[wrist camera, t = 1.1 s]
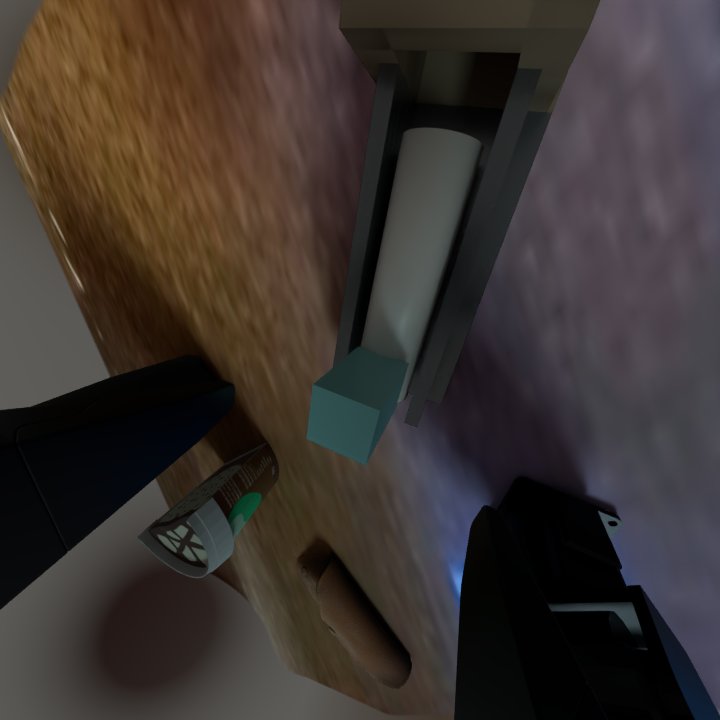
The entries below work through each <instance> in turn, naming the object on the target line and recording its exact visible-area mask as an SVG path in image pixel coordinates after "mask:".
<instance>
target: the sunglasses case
mask: <svg viewBox="0 0 720 720" xmlns="http://www.w3.org/2000/svg"><path fill="white" fill-rule="evenodd" d="M294 559H295V561H296V565H297V568H298V571H299V573H300V575H301V577H302V579H303V581H304V583H305V584H306V586H307V588H308V590H309V591H310V593H311V595H312V596H313V598H314V599H315V601H316V603H317V604H318V606H319V611H320V615H321V618H322V619H323V621H325V623H326V624H327V625H328V626H329V630H330V631H331V633H332V634H334V635H335V636H336V638H337V639H338V641H339V642H340V643H341V644H342V645H343V646H344V648H345V649H346V650H347V651H348V653H349V654H350V655H351V657H352V658H353V659H354V660H355V661H356V662H357V663H358V664H359V665H360V666H361V667H362V668H363V669H364V670H365V671H366V672H367V673H368V674H370V675H371V676H372V677H373V678H375V679H376V680H377V681H379V682H380V683H382V684H383V685H385V686H387V687H389V688H391V689H399V688H401V687H402V686H403V685H404V684H405V683H406V681H407V680H408V678H409V676H410V673H411V669H412V663H411V659H410V658H409V657H408V656H407V655H406V654H405V653H404V651H403V650H402V649H401V648H400V647H399V646H398V645H397V643H396V642H395V641H394V640H392V638H391V636H390V635H389V634H388V633H387V632H386V631H385V630H384V629H383V628H382V626H381V624H380V623H379V622H378V620H377V619H376V617H375V616H374V614H373V613H372V612H371V610H370V609H369V608H368V607H367V605H366V604H365V603H364V602H363V600H362V598H361V597H360V595H359V594H358V592H357V591H356V590H355V588H354V587H353V586H352V584H351V583H350V582H349V580H348V579H347V577H346V576H345V574H344V573H343V572H342V570H341V569H340V568H339V566H338V564H337V563H336V561H335V560H334V559H333V558H332V554H331V551H330V552H326V553H320V554H314V555H307V556H302V557H299V558H294Z"/></svg>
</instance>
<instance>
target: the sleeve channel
mask: <svg viewBox="0 0 720 720" xmlns="http://www.w3.org/2000/svg"><path fill="white" fill-rule="evenodd" d="M541 72H542V69H529V68H518V69H517V72H516V75H515V78H514V81H513V84H512V87H511V91H510V94H509V97H508V100H507V103H506V106H505V109H497V108H483V107H470V106H457V105H443V104H430V103H417V102H416V100H415V98H414V96H413V94H412V91H411V89H410V87H409V85H408V83H407V80H406V78H405V76H404V74H403V72H402V70H401V67H400V65H399V64H395V63H380V65H379V72H378V78H377V85H376V91H375V98H374V104H373V111H372V117H371V124H370V130H369V137H368V143H367V150H366V156H365V162H364V169H363V175H362V182H361V188H360V195H359V201H358V208H357V214H356V221H355V227H354V234H353V240H352V247H351V253H350V260H349V266H348V273H347V279H346V286H345V292H344V298H343V305H342V311H341V318H340V324H339V331H338V337H337V344H336V350H335V357H334V363H333V367H334V366H336V365H337V364H338V363H339V362H340V361H342V360H343V359H344V358H345V357H346V356H348V355H349V354H350V353H351V352H352V351H354V350H355V349H356V348H357V347H358V346H359V347H361V342H362V337H363V332H364V327H365V322H366V317H367V312H368V307H369V302H370V297H371V292H372V287H373V282H374V277H375V272H376V267H377V262H378V257H379V252H380V247H381V241H382V236H383V231H384V226H385V221H386V216H387V211H388V206H389V201H390V196H391V191H392V186H393V181H394V176H395V171H396V166H397V161H398V156H399V151H400V146H401V141H402V136H403V133H404V132H405V131H407V130H410V129H414V128H439V129H446V130H451V131H456V132H460V133H463V134H466V135H469V136H471V137H473V138H475V139H477V140H479V141H480V142H481V143H482V144H483V145H484V150H483V153H482V156H481V159H480V163H479V166H478V169H477V172H476V175H475V179H474V182H473V185H472V188H471V192H470V195H469V198H468V201H467V205H466V208H465V211H464V214H463V217H462V221H461V224H460V227H459V230H458V234H457V237H456V240H455V243H454V247H453V250H452V253H451V256H450V259H449V263H448V266H447V269H446V272H445V276H444V279H443V282H442V285H441V289H440V292H439V295H438V298H437V301H436V305H435V308H434V311H433V314H432V318H431V321H430V324H429V327H428V331H427V334H426V337H425V340H424V343H423V347H422V350H421V353H420V356H419V360H418V363H417V366H416V369H415V373H414V376H413V379H412V382H411V385H410V389H409V392H408V393H410V394H413V397H412V400H411V403H410V406H409V409H408V412H407V415H406V418H405V422H404V423H407V424H409V425H412V426H414V427H417V426H418V423H419V420H420V417H421V414H422V412H423V409H424V406H425V403H426V400H429V401H432V402H435V403H438V404H440V405H441V402H442V400H443V397H444V394H445V392H446V389H447V387H448V384H449V381H450V379H451V376H452V374H453V371H454V368H455V366H456V363H457V360H458V358H459V355H460V353H461V350H462V347H463V345H464V342H465V339H466V337H467V334H468V332H469V329H470V326H471V324H472V321H473V318H474V316H475V313H476V311H477V308H478V305H479V303H480V300H481V298H482V295H483V292H484V290H485V287H486V284H487V282H488V279H489V277H490V274H491V271H492V269H493V266H494V263H495V261H496V258H497V256H498V253H499V250H500V248H501V245H502V243H503V240H504V237H505V235H506V232H507V229H508V227H509V224H510V222H511V219H512V216H513V214H514V211H515V208H516V206H517V203H518V201H519V198H520V195H521V193H522V190H523V188H524V185H525V182H526V180H527V177H528V174H529V172H530V169H531V167H532V164H533V161H534V159H535V156H536V153H537V151H538V148H539V146H540V143H541V140H542V138H543V135H544V133H545V130H546V127H547V125H548V122H549V119H550V117H551V114H552V113H550V112H536V111H528V109H529V106H530V103H531V100H532V97H533V95H534V92H535V89H536V86H537V83H538V80H539V77H540V75H541Z"/></svg>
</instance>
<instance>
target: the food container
mask: <svg viewBox="0 0 720 720" xmlns="http://www.w3.org/2000/svg"><path fill="white" fill-rule="evenodd" d="M278 476H279V465H278V461H277V458H276V456H275V454H274V452H273V450H272V448H271V447H270V445H269V444H268V442H267V443H265V444H263V445H261V446H259V447H257V448H255V449H253V450H251V451H249V452H247V453H245V454H243V455H241V456H239V457H237V458H235V459H233V460H231V461H229V462H227V463H225V464H224V465H223V466H222V467H220V468H219V469H218V470H217V471H216V472H214V473H213V474H212V475H211V476H210V477H208V478H207V479H206V480H205V481H204V482H202V483H201V484H200V485H199V486H198V487H196V488H195V489H194V490H193V491H192V492H190V493H189V494H188V495H187V496H186V497H185V498H183V499H182V500H181V501H180V502H179V503H177V504H176V505H175V506H174V507H173V508H171V509H170V510H169V511H168V512H167V513H165V514H164V515H163V516H162V517H161V518H159V520H156V521H155V522H154V523H152V524H151V525H150V526H149V527H148V528H147V529H146V530H145V531H144V532H143V533H142V534H140V535H139V536H138V538H139V540H140V541H141V542H142V543H143V544H144V545H145V546H146V547H147V548H148V549H149V550H150V551H151V552H152V553H153V554H154V555H155V556H156V557H158V558H159V559H160V560H161V561H163V562H164V563H165V564H167V565H168V566H169V567H171V568H172V569H174V570H176V571H178V572H179V573H181V574H184V575H186V576H189V577H193V578H201V577H204V576H205V575H207V574H208V573H209V572H212V571H214V570H215V569H216V568H217V567H218V566H220V565H221V564H222V563H223V562H224V561H225V560H226V559H228V558H229V557H230V556H231V554H232V552H233V549H234V538H235V537H236V536H237V534H238V533H239V532H240V530H241V529H242V528H243V526H244V525H245V524H246V522H247V521H248V519H249V518H250V517H251V515H252V514H253V513H254V511H255V510H256V509H257V507H258V506H259V505H260V503H261V502H262V501H263V499H264V498H265V496H266V495H267V494H268V492H269V491H270V490H271V488H272V487H273V486H274V484H275V483H276V481H277V480H278Z"/></svg>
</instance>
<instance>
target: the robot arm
mask: <svg viewBox="0 0 720 720" xmlns="http://www.w3.org/2000/svg"><path fill="white" fill-rule="evenodd" d="M234 400H235V387H234V385H233V384H232V383H230V382H228V381H225V380H220V381H213V382H206V383H199V384H192V385H186V386H179V387H172V388H165V389H158V390H152V391H145V392H138V393H131V394H124V395H118V396H111V397H104V398H100V399H98V398H97V399H90V400H83V401H76V402H69V403H61V404H53V405H44V406H35V407H25V408H16V409H6V410H0V609H2V608H3V607H4V606H5V605H6V604H8V602H10V601H11V600H12V599H13V598H15V597H16V596H17V595H18V594H19V593H21V592H22V591H23V590H24V589H25V588H26V587H28V585H30V584H31V583H32V582H33V581H35V580H36V579H37V578H38V577H39V576H41V575H42V574H43V573H44V572H45V571H46V570H48V569H49V568H50V567H51V566H52V565H54V564H55V563H56V562H57V561H58V560H59V559H61V558H62V557H63V556H64V555H65V554H67V551H70V550H71V549H72V548H73V547H75V546H76V545H77V544H78V543H79V542H80V541H82V540H83V539H84V538H85V537H86V536H88V535H89V534H90V533H91V532H92V531H93V530H95V529H96V528H97V527H98V526H99V525H101V524H102V523H103V522H104V521H105V520H106V519H108V518H109V517H110V516H111V515H112V514H114V513H115V512H116V511H117V510H118V509H119V508H120V507H122V506H123V505H124V504H125V503H126V502H127V501H129V500H130V499H131V498H132V497H134V496H135V495H136V494H137V493H138V492H139V491H141V490H142V489H143V488H144V487H145V486H146V485H148V484H149V483H150V482H151V481H152V480H154V479H155V478H156V477H157V476H158V475H160V474H161V473H162V472H163V471H164V470H165V469H167V468H168V467H169V466H170V465H171V464H173V463H174V462H175V461H176V460H177V459H178V458H180V457H181V456H182V455H183V454H184V453H186V452H187V451H188V450H189V449H190V448H191V447H193V446H194V445H195V444H196V443H197V442H198V441H200V440H201V439H202V438H203V437H204V436H205V435H206V434H207V433H208V432H209V431H210V430H211V429H212V428H213V427H214V426H215V425H216V424H217V423H218V422H219V421H220V420H221V419H222V418H223V417H224V416H225V415H226V414H227V413H228V411H229V410H230V409H231V408H232V407H233V405H234ZM521 484H526V485H524V486H523V485H521ZM622 525H623V524H622V521H621V519H620V517H619V516H618V515H616V514H614V513H612V512H609V511H607V510H604V509H602V508H599V507H597V506H594V505H592V504H590V503H587V502H585V501H582V500H580V499H577V498H575V497H572V496H570V495H567V494H565V493H562V492H560V491H558V490H555V489H552V488H550V487H547V486H545V485H542V484H540V483H537V482H535V481H532V480H530V479H528V478H524V477H519V478H517V479H516V480H515V481H514V483H513V485H512V486H511V488H510V489H509V491H508V493H507V494H506V496H505V497H504V499H503V501H502V502H501V504H500V505H499V507H498V509H497V510H496V509H494V508H492V507H490V506H488V505H484V506H483V507H482V508H481V510H480V511H479V513H478V514H477V516H476V517H475V519H474V520H473V522H472V525H471V528H470V534H469V540H468V546H467V552H466V558H465V564H464V570H463V577H462V584H461V596H460V615H459V635H458V654H457V674H456V694H455V713H454V720H720V715H719V713H718V711H717V709H716V707H715V705H714V703H713V701H712V700H711V698H710V696H709V694H708V692H707V690H706V688H705V686H704V685H703V683H702V681H701V679H700V677H699V675H698V673H697V671H696V670H695V668H694V666H693V664H692V662H691V660H690V658H689V657H688V655H687V653H686V651H685V650H684V648H683V647H682V645H681V644H680V642H679V641H678V640H677V638H676V637H675V635H674V634H673V632H672V631H671V629H670V628H669V626H668V625H667V624H666V622H665V621H664V619H663V618H662V616H661V615H660V613H659V612H658V610H657V609H656V608H655V606H654V605H653V603H652V602H651V600H650V599H649V597H648V596H647V594H646V593H645V592H644V590H643V589H642V587H641V586H640V585H632V586H626V584H625V581H624V579H623V577H622V574H621V572H620V570H621V569H622V565H621V563H620V560H619V558H618V556H617V554H616V551H615V549H614V547H613V544H612V542H611V540H610V538H611V537H612V536H613V535H614V534H615V533H616V532H617V531H618V530H619V529H620V528H621V527H622Z"/></svg>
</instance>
